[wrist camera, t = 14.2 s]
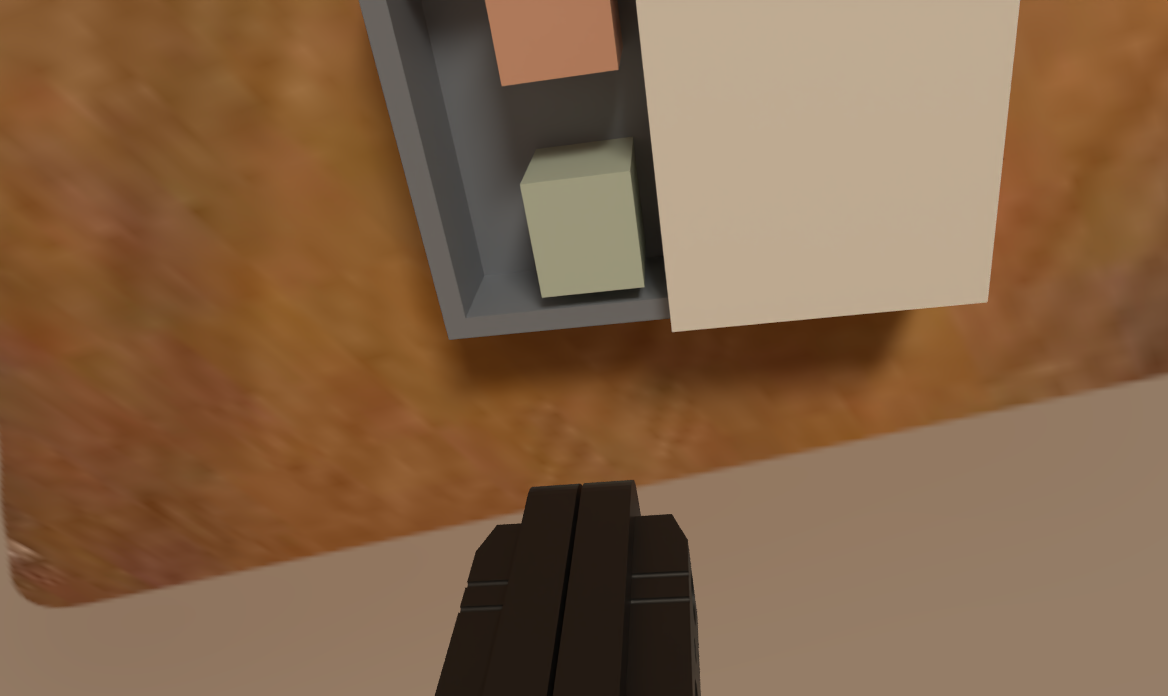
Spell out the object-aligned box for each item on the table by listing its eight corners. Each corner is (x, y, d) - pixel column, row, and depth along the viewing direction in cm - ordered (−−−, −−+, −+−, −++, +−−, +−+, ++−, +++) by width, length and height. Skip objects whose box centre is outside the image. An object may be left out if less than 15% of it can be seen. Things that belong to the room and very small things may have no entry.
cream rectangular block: (971, -211, 23) (1045, -234, 18) (938, 242, 30) (987, 302, 25) (625, -148, 24) (618, -157, 20) (669, 270, 31) (672, 331, 27)
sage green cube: (629, 170, 25) (519, 184, 25) (644, 287, 27) (541, 297, 27) (632, 136, 28) (536, 149, 29) (645, 241, 30) (554, 251, 30)
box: (625, -148, 24) (620, -155, 21) (669, 270, 31) (671, 318, 27) (375, -103, 25) (331, -102, 22) (471, 291, 32) (449, 339, 29)
